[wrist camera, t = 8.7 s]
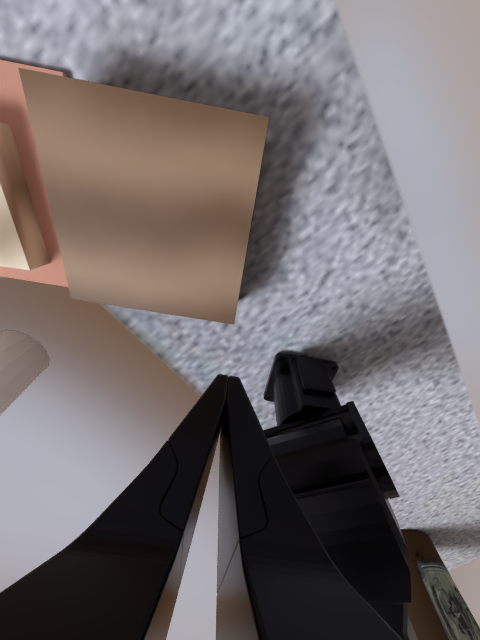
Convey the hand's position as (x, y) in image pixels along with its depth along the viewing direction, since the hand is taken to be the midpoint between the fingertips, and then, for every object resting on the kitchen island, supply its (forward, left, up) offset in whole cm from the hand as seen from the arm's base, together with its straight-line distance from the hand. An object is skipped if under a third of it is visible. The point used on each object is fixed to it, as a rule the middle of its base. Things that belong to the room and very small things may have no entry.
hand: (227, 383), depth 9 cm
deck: (+4, +6, -12) cm, 14 cm away
